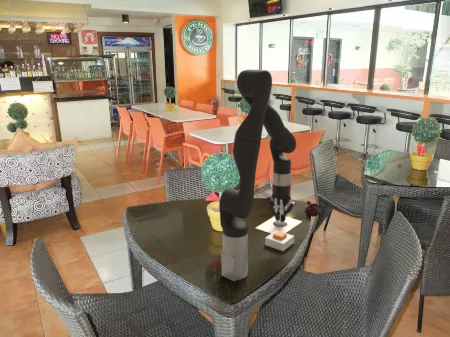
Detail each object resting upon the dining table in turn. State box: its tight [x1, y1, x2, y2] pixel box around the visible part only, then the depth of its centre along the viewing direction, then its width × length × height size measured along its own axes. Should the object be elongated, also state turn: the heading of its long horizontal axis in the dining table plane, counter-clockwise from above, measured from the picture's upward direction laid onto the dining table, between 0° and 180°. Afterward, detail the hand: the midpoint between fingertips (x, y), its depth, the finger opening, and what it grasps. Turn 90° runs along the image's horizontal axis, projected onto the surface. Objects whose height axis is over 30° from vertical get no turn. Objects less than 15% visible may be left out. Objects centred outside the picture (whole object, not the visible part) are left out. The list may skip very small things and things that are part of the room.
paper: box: [255, 215, 303, 235], centre depth 181 cm, size 20×14×1 cm
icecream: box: [304, 200, 323, 218], centre depth 190 cm, size 7×7×15 cm
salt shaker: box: [276, 209, 284, 226], centre depth 180 cm, size 4×4×10 cm
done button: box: [273, 231, 288, 241], centre depth 162 cm, size 4×4×2 cm
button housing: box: [264, 230, 295, 252], centre depth 162 cm, size 9×9×4 cm
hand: (280, 220), depth 160 cm, fingers closed
